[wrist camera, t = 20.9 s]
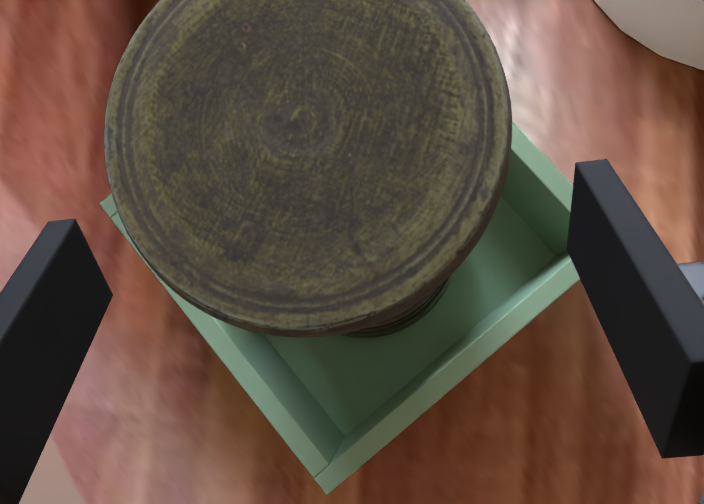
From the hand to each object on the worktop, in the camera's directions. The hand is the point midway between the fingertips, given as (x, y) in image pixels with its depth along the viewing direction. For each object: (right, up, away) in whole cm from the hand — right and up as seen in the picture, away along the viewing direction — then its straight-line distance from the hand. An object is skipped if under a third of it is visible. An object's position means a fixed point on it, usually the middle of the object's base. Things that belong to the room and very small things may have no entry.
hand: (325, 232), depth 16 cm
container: (+1, 0, +13) cm, 14 cm away
